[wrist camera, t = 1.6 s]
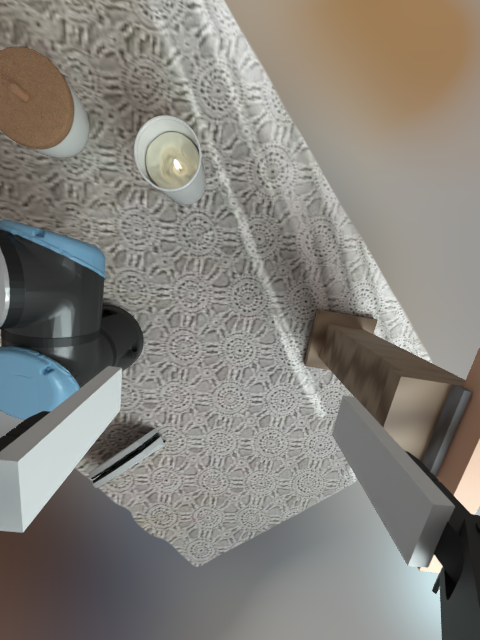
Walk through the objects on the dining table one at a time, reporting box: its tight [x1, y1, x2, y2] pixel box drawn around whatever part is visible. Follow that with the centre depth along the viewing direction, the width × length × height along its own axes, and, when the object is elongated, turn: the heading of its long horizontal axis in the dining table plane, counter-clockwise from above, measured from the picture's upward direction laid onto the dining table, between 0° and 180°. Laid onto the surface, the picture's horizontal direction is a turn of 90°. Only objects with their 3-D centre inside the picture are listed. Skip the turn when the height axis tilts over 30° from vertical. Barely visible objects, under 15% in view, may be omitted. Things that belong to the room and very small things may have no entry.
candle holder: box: [134, 115, 206, 205], centre depth 40 cm, size 10×10×12 cm
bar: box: [418, 348, 480, 573], centre depth 24 cm, size 24×3×3 cm, turn 170°
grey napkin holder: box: [89, 428, 167, 488], centre depth 56 cm, size 17×5×10 cm, turn 125°
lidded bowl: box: [0, 47, 89, 158], centre depth 38 cm, size 13×13×11 cm
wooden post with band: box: [304, 309, 472, 476], centre depth 39 cm, size 13×16×31 cm
